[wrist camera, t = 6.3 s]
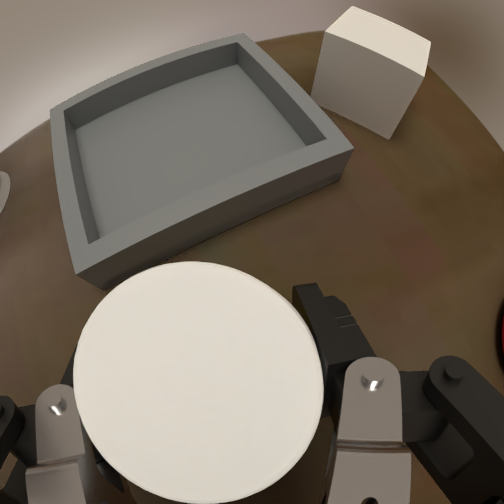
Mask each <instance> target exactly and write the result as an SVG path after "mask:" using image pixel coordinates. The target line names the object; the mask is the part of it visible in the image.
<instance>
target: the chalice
mask: <svg viewBox="0 0 504 504" xmlns="http://www.w3.org/2000/svg"><path fill="white" fill-rule="evenodd" d="M9 191H10V178H9V175H8V174H7V173H5V172H4V171H0V213H1V211H2V210H3V208H4V206H5V204H6V201H7V199H8V196H9Z"/></svg>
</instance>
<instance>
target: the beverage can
mask: <svg viewBox="0 0 504 504" xmlns="http://www.w3.org/2000/svg"><path fill="white" fill-rule="evenodd" d="M502 346H503V354H504V316H503V324H502Z"/></svg>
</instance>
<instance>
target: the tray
mask: <svg viewBox="0 0 504 504" xmlns="http://www.w3.org/2000/svg"><path fill="white" fill-rule="evenodd" d="M50 121H51V137H52V149H53V159H54V167H55V175H56V182H57V189H58V196H59V202H60V207H61V213H62V218H63V223H64V228H65V233H66V237H67V242H68V246H69V250H70V255H71V259H72V263H73V266H74V270H75V274H76V275H77V276H79V277H81V278H82V279H84V280H86V281H88V282H90V283H91V284H93V285H95V286H97V287H99V288H100V289H102V290H106V289H108V288H110V287H112V286H114V285H116V284H118V283H120V282H122V281H124V280H126V279H128V278H130V277H132V276H134V275H136V274H138V273H140V272H142V271H144V270H146V269H148V268H150V267H152V266H154V265H156V264H158V263H160V262H162V261H164V260H166V259H168V258H170V257H172V256H174V255H176V254H178V253H180V252H183V251H185V250H187V249H189V248H191V247H193V246H195V245H197V244H199V243H201V242H203V241H206V240H208V239H210V238H212V237H214V236H216V235H218V234H220V233H223V232H225V231H227V230H229V229H231V228H233V227H235V226H238V225H240V224H242V223H244V222H246V221H248V220H251V219H253V218H255V217H257V216H259V215H261V214H264V213H266V212H268V211H270V210H272V209H275V208H277V207H279V206H281V205H283V204H286V203H288V202H290V201H292V200H295V199H297V198H299V197H301V196H304V195H306V194H308V193H310V192H313V191H315V190H317V189H320V188H322V187H324V186H326V185H329V184H331V183H333V182H336V181H338V180H339V179H340V177H341V175H342V173H343V171H344V169H345V167H346V165H347V162H348V160H349V158H350V156H351V154H352V152H353V150H354V147H353V146H352V144H351V143H350V142H349V141H348V140H347V138H346V137H345V136H344V135H343V134H342V132H341V131H340V130H339V129H338V128H337V126H336V125H335V124H334V123H333V122H332V121H331V119H330V118H329V117H328V116H327V115H326V114H325V113H324V112H323V110H322V109H321V108H320V107H319V106H318V105H317V104H316V103H315V102H314V101H313V99H312V98H311V97H310V96H309V95H308V94H307V93H306V92H305V91H304V90H303V89H302V88H301V87H300V86H299V85H298V84H297V83H296V82H295V81H294V80H293V79H292V78H291V77H290V76H289V75H288V74H287V73H286V72H285V71H284V70H283V69H282V68H281V67H280V66H279V65H278V64H277V63H276V62H275V61H274V60H273V59H272V58H271V57H270V56H269V55H268V54H267V53H266V52H264V51H263V50H262V49H261V48H260V47H259V46H258V45H257V44H256V43H254V42H253V41H252V40H251V39H250V38H249V37H248V36H247V35H245V34H244V33H243V34H239V35H234V36H230V37H226V38H222V39H218V40H214V41H210V42H207V43H203V44H200V45H196V46H193V47H190V48H186V49H184V50H180V51H177V52H174V53H171V54H169V55H166V56H163V57H160V58H157V59H155V60H152V61H149V62H147V63H144V64H142V65H139V66H137V67H134V68H132V69H129V70H127V71H125V72H122V73H120V74H118V75H116V76H114V77H111V78H109V79H107V80H105V81H103V82H101V83H99V84H96V85H95V86H92V87H90V88H89V89H87V90H85V91H83V92H81V93H79V94H77V95H75V96H73V97H71V98H70V99H68V100H66V101H64V102H62V103H61V104H59V105H57V106H56V107H54V108H52V109H51V110H50Z"/></svg>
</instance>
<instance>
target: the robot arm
mask: <svg viewBox="0 0 504 504" xmlns="http://www.w3.org/2000/svg"><path fill="white" fill-rule="evenodd" d="M292 305H293V307H294V308H295V309H296V310H297V312H298V313H299V314H300V316H301V317H302V319H303V320H304V322H305V323H306V325H307V326H308V328H309V330H310V332H311V334H312V336H313V339H314V341H315V344H316V347H317V350H318V355H319V359H320V362H321V368H322V375H323V385H324V394H323V405H322V411H321V416H320V418H322V417H327V416H331V418H332V421H333V424H334V427H333V431H332V437H331V443H330V449H329V454H328V460H327V465H326V470H325V475H324V480H323V484H322V488H321V492H320V495H319V499H318V503H317V504H409V501H410V483H411V452H410V450H411V451H412V452H413V453H414V455H415V456H416V457H417V459H418V460H419V461H420V463H421V464H422V465H423V466H424V468H425V469H426V470H427V472H428V473H429V474H430V476H431V477H432V478H433V480H434V481H435V482H436V484H437V485H438V486H439V487H440V489H441V490H442V491H443V493H444V494H445V495H446V497H447V498H448V499H449V501H450V502H451V503H452V504H504V397H503V396H502V395H501V394H500V393H499V392H498V391H497V390H496V389H495V388H494V387H493V386H492V385H491V384H490V383H489V382H488V381H487V380H486V379H485V378H484V377H483V376H482V375H481V374H479V373H478V372H477V371H476V370H475V369H474V368H473V367H472V366H471V365H470V364H469V363H467V362H466V361H465V360H463V359H461V358H459V357H455V356H443V357H440V358H438V359H436V360H435V361H434V362H433V363H432V365H431V366H430V369H429V371H413V372H405V371H398V370H397V369H396V367H395V366H394V365H393V364H392V363H390V362H389V361H387V360H384V359H382V358H378V357H377V356H376V355H375V353H374V351H373V350H372V348H371V346H370V344H369V343H368V341H367V339H366V338H365V336H364V334H363V333H362V331H361V329H360V328H359V326H358V325H357V324H356V321H355V319H354V318H353V316H351V313H350V311H349V309H348V308H347V306H346V304H345V303H344V302H342V301H341V300H339V299H338V298H336V297H335V296H327V297H324V296H323V294H322V292H321V290H320V288H319V287H318V285H317V284H316V283H311V284H304V285H296V286H293V290H292ZM77 345H78V344H77ZM76 349H77V346H76V348H75V350H74V352H75V353H73V355H72V357H71V359H70V361H69V364H68V366H67V368H66V371H65V373H64V376H63V378H62V380H61V383H60V384H59V385H54V386H51V387H49V388H48V389H46V390H45V391H44V392H42V394H41V395H40V396H39V398H38V399H37V402H36V404H34V405H29V406H24V407H17V406H16V404H15V403H14V402H13V401H12V399H11V398H9V397H7V396H0V469H1V467H2V465H3V463H4V461H5V459H6V457H7V455H8V454H9V452H10V453H11V454H13V455H14V456H15V457H16V458H17V459H18V461H17V462H16V464H15V466H14V468H13V470H12V472H11V475H10V477H9V479H8V481H7V483H6V485H5V487H4V488H3V489H1V490H0V504H137V503H136V502H135V500H134V498H133V496H132V494H131V492H130V489H129V486H128V483H127V480H126V478H125V477H124V476H123V475H122V474H120V473H119V472H118V471H117V470H115V469H114V468H113V467H112V466H111V465H110V464H109V463H108V462H107V461H106V460H105V459H104V457H103V456H102V455H101V454H100V452H99V451H98V450H97V448H96V447H95V445H94V444H93V442H92V441H91V439H90V437H89V435H88V433H87V431H86V429H85V427H84V425H83V423H82V420H81V417H80V414H79V411H78V409H77V404H76V400H75V394H74V384H73V367H74V358H75V354H76ZM403 442H405V443H406V444H407V445H404V444H403ZM409 448H410V449H409Z"/></svg>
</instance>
